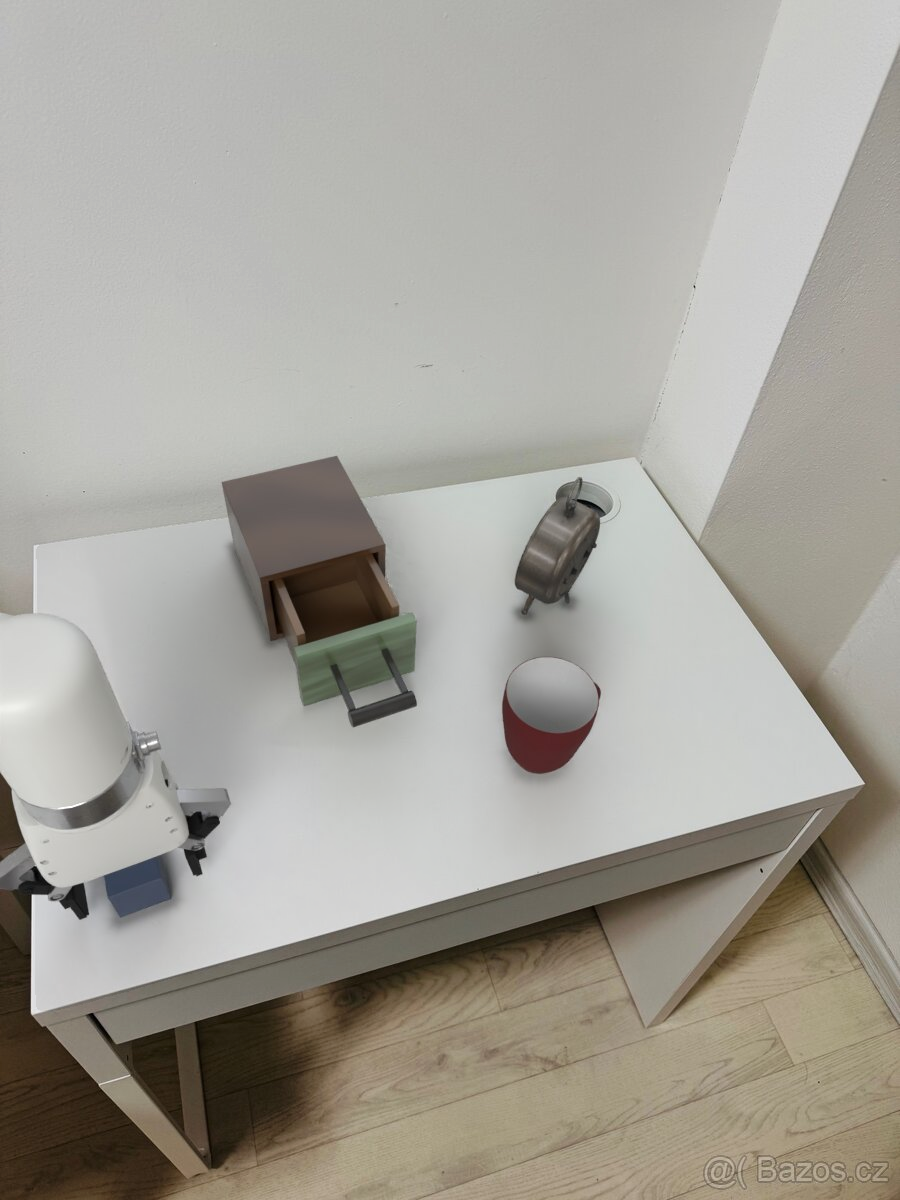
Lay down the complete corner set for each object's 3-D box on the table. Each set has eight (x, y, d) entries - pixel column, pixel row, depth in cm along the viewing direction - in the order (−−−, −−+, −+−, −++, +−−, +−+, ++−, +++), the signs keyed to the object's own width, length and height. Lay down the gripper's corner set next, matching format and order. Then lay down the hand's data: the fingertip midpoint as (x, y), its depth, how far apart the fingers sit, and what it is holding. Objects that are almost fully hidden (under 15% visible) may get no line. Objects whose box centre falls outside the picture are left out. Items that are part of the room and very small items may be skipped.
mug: (549, 690, 83) (565, 626, 76) (613, 742, 80) (636, 680, 72) (475, 753, 78) (485, 691, 71) (540, 811, 75) (557, 752, 67)
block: (120, 917, 66) (107, 898, 63) (111, 872, 69) (99, 851, 66) (171, 898, 68) (161, 878, 65) (161, 855, 70) (151, 833, 67)
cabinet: (385, 608, 89) (385, 544, 82) (270, 641, 85) (259, 577, 78) (340, 520, 98) (337, 455, 91) (234, 547, 94) (221, 481, 87)
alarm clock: (553, 555, 96) (577, 441, 84) (595, 575, 94) (626, 462, 82) (505, 613, 90) (524, 500, 78) (549, 636, 88) (575, 524, 76)
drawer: (442, 725, 79) (446, 676, 73) (326, 765, 75) (321, 717, 70) (367, 578, 91) (365, 526, 85) (264, 607, 87) (255, 554, 81)
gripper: (200, 685, 59) (234, 803, 72) (-71, 767, 54) (19, 879, 67) (226, 772, 55) (258, 881, 68) (-66, 871, 49) (29, 969, 62)
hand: (139, 879), depth 67 cm, fingers open, 8 cm apart
